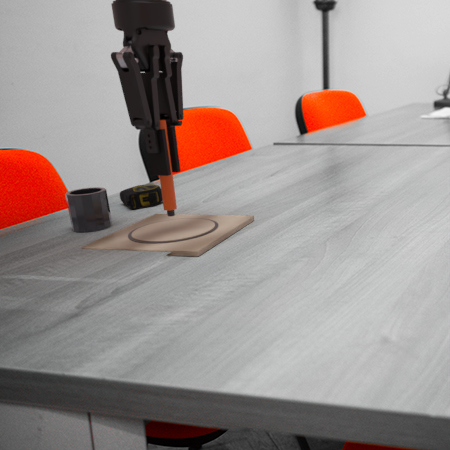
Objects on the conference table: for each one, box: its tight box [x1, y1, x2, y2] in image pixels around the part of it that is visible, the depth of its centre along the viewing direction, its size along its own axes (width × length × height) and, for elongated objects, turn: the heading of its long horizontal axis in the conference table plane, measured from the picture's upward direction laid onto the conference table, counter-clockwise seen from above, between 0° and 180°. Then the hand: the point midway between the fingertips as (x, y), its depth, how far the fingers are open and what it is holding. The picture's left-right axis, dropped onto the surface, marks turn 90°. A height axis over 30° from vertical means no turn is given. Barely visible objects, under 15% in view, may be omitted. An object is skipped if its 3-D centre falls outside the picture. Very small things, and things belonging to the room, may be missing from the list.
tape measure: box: [119, 183, 163, 210], centre depth 105 cm, size 7×7×4 cm
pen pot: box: [64, 186, 113, 234], centre depth 91 cm, size 6×6×6 cm
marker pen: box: [159, 120, 178, 216], centre depth 83 cm, size 2×2×14 cm
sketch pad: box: [81, 213, 255, 258], centre depth 88 cm, size 18×18×1 cm
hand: (166, 173), depth 83 cm, fingers closed on marker pen, 2 cm apart
